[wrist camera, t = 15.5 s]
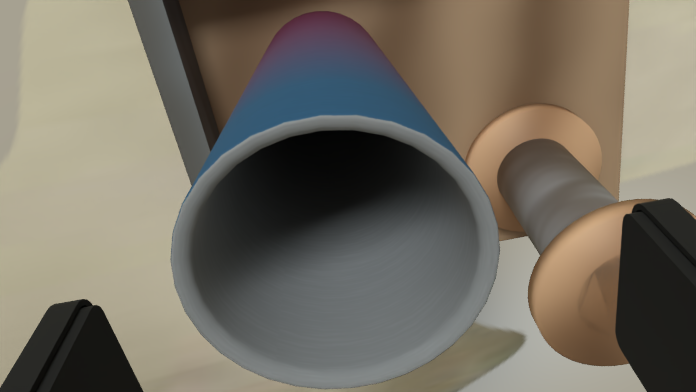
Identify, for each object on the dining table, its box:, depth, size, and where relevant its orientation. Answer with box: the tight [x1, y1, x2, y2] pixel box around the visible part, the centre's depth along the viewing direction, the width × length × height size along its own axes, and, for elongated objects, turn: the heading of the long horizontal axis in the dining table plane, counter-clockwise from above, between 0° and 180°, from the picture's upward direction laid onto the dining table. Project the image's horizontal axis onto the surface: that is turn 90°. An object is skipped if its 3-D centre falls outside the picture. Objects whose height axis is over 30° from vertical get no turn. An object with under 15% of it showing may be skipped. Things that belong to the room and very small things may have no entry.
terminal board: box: [128, 0, 696, 366], centre depth 23 cm, size 20×16×12 cm
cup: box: [171, 11, 500, 389], centre depth 19 cm, size 7×7×15 cm
